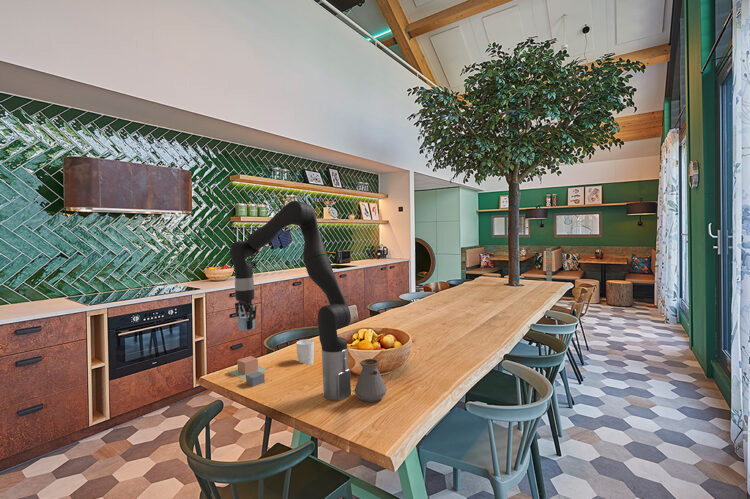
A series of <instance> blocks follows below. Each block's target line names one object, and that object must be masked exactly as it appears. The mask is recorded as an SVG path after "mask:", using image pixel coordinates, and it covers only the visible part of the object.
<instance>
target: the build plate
mask: <svg viewBox="0 0 750 499" xmlns="http://www.w3.org/2000/svg"><path fill="white" fill-rule="evenodd" d="M266 371H269V369H267V368H265V367H262V366H260V365H258V372H261V373H263V372H266ZM255 372H256V371H255ZM227 373H229V374H231V375H233V376H234V377H237V378H239V379H242V380H244V379H246V375H247V374H246V375H245V374H242V373H240V372H238V368H236V369H234V370H231V371H230V370H229V371H228V372H227ZM252 373H253V372H252ZM249 374H250V373H249Z"/></svg>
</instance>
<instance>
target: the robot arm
mask: <svg viewBox="0 0 750 499" xmlns="http://www.w3.org/2000/svg"><path fill="white" fill-rule="evenodd" d="M291 225H293V226H298V227H299V229H300V231H301V234H302V236H303V242H304V244H303V254H302V255H303V256H302V259H303V263H304V266H305V269H306V273H307V275H308V276H309V278H310V279H311V281H312V282H313V283H314V284H316V285H317V287H319V288H320V290H322V291H323V293H324V295H325V296H326V298H327V301H328V303H329V304H327V305H324V306H321V307H320V309H319V310H318V313H317V326H318V327H317V328H318V338H319V343H320V344H321V362H322V363H321V364H322V365H321V366H322V367H321V368H322V389H323V398H325V399H326V400H329V401H338V402H340V401H343V400H344V399H346V398H348V397H350V396H351V395H352V383H351V381H352V379H351V369H350V368H349V361H348V360H349V359H348V358H349V356H348V341H347V339H346V338H344V337H340V336H338V330H341V329H344V328H346V327H348V326H349V325H350V324H351V320H352V315H351V310H350V308H349V306H348V305H349V304H348V302H347V301H346V299H345V296H344V294H343V293H342V290H341V288H340V286H339V283H338V280H337V278H336V276H335V273H334V272H335V271H334V269H333V267H332V263H331V261H330V257H329V255H328V252H327V249H326V247H325V245H324V241H323V238H322V236H321V233H320V229H319V225H318V220H317V215H316V212H315V209H314V208H313V207H312V205H310V204H309V203H307V202H303V201H298V200H291V201H289V202H288V203H286V204H285V205H284V206H283V207H282V208H281V209H280V210H279V211H278V212H277V213H276V214H275V215H274V216H273V217H272V218H270V220H268V222H266V223H264V225H262V226H261V227H259V228H257V229H256V230H255V231H253V232H252V233H251V234H249V235H248V237H247V240H239V241H238V240H237V241H234V242H232V243H231V244H230V248H229V255H230V259H231V261H232V265H233V267H234V279H235V280H234V292H235V294H234V295H235V296H234V298H235V301H238V302H235V303H234V308H235V313H236V314H235V315H236V317H237V318H239V317H244V316H246V319H247V329H248V331H251V330H250V329H252V328H253V324H252V320H253V319H255V320H256V318H257V307H258V306H257V305H253V300H254V299H255V281H254V273H253V272H254V270H253V265H252V263H247V261H246V258H250V257H252V256H254V255H256V254H257V253H259V251H260V250H261V249H262V248H264V247H265V246H267V245H268V244H270V243H271V242H273V240H275V239H276V237H277V236H278V234H279V232H280V231H281V230H282V229H285V228H286V227H288V226H291ZM248 316H249V317H248ZM252 330H253V329H252Z"/></svg>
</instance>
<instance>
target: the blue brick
mask: <svg viewBox="0 0 750 499" xmlns="http://www.w3.org/2000/svg"><path fill="white" fill-rule="evenodd" d="M248 317H249V315H248ZM255 320H256V319H253V320H252V324H253V328H252V329H250V330H248V329H247V319H246V316H244V317H237V330H238V331H242V332H248V331H252V330H255V329H256V321H255Z"/></svg>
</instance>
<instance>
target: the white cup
mask: <svg viewBox="0 0 750 499" xmlns="http://www.w3.org/2000/svg"><path fill="white" fill-rule="evenodd" d="M295 344H296V354H297V359H298V363H299V364H300V363H302V364H305V365H308V366H311V365H313V364H314V356H315V340H313V339H309V338H308V339H307V338H306V339H299V340H297V341H296V343H295Z"/></svg>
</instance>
